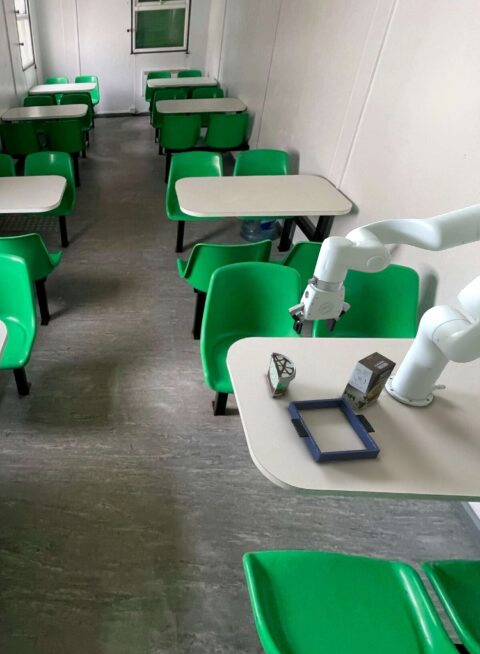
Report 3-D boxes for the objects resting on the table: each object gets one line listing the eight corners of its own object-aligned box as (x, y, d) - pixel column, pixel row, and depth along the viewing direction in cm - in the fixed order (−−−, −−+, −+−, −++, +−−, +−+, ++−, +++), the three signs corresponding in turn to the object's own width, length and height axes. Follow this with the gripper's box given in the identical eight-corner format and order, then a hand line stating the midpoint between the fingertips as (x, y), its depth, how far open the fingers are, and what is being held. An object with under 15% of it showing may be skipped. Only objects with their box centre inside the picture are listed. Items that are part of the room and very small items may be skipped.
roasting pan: (347, 404, 130) (351, 397, 128) (384, 457, 115) (389, 450, 113) (279, 409, 129) (282, 401, 127) (307, 463, 114) (311, 455, 112)
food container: (293, 402, 131) (301, 380, 126) (273, 401, 132) (280, 378, 126) (285, 374, 141) (292, 352, 135) (265, 373, 142) (272, 351, 136)
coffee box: (358, 412, 128) (377, 374, 118) (339, 398, 132) (356, 360, 123) (377, 401, 131) (397, 363, 121) (358, 387, 136) (376, 350, 126)
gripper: (302, 291, 111) (289, 340, 121) (367, 286, 111) (348, 335, 121) (290, 276, 117) (278, 324, 127) (351, 271, 118) (334, 319, 127)
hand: (312, 330), depth 124 cm, fingers open, 9 cm apart
